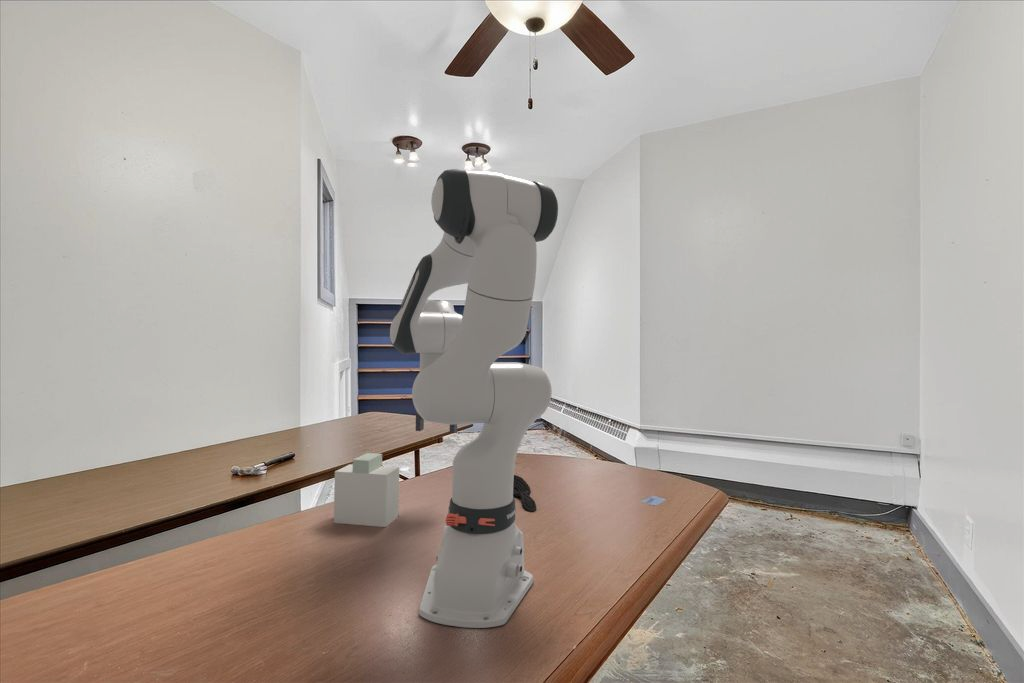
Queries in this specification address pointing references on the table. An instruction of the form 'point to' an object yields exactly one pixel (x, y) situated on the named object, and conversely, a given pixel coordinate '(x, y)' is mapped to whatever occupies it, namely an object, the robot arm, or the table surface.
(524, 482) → the hairbrush
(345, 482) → the stand
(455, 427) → the frame
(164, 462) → the table surface
